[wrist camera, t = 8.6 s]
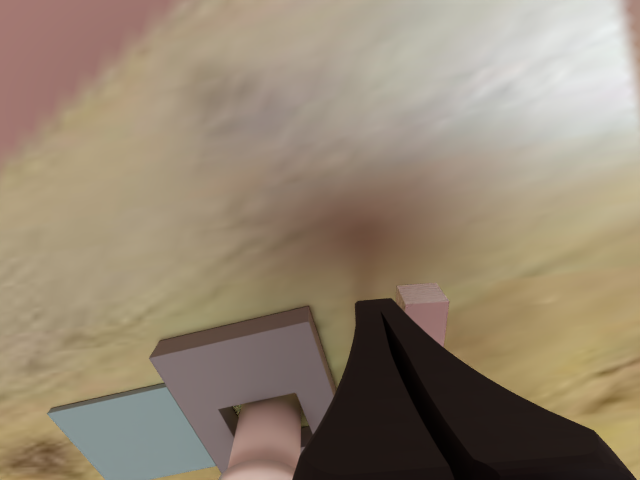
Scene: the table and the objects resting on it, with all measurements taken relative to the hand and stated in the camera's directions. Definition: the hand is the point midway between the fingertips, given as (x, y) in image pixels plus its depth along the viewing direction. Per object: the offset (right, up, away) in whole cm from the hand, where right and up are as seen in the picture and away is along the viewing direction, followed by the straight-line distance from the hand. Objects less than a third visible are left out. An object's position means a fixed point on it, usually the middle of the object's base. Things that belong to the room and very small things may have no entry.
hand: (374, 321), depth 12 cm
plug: (-6, -9, +12) cm, 16 cm away
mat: (-16, -12, +12) cm, 23 cm away
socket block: (-6, -9, +12) cm, 16 cm away
